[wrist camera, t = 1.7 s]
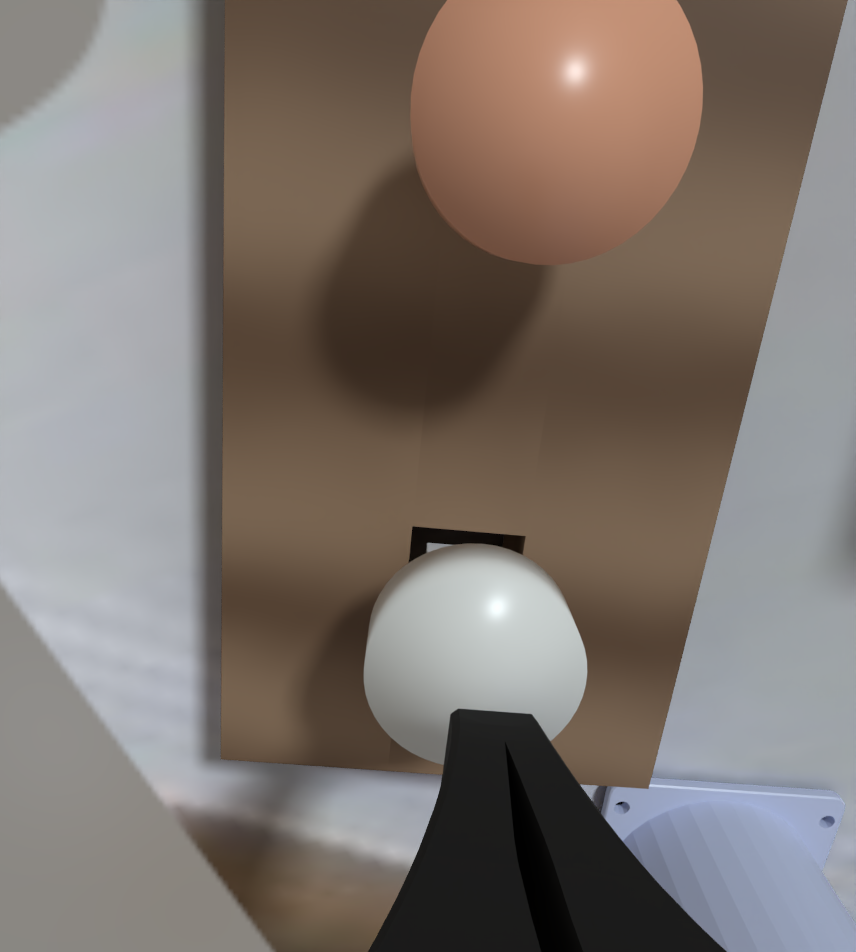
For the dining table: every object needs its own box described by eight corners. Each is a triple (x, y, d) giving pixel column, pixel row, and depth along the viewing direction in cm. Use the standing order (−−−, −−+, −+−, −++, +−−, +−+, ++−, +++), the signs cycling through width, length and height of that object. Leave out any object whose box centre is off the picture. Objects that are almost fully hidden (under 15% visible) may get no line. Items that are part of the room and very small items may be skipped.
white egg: (535, 663, 18) (567, 775, 14) (369, 650, 18) (355, 760, 14) (563, 508, 17) (605, 586, 13) (382, 492, 17) (371, 567, 13)
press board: (619, 719, 22) (648, 788, 20) (246, 691, 22) (221, 759, 19) (804, -101, 15) (892, -179, 13) (262, -173, 15) (226, -271, 12)
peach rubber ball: (605, 269, 15) (668, 279, 11) (402, 247, 15) (398, 250, 11) (645, 37, 14) (734, -43, 10) (422, 9, 13) (425, -82, 10)
